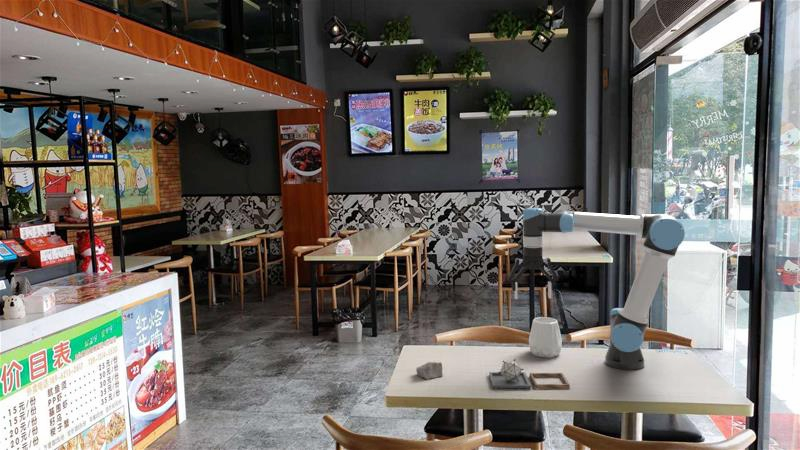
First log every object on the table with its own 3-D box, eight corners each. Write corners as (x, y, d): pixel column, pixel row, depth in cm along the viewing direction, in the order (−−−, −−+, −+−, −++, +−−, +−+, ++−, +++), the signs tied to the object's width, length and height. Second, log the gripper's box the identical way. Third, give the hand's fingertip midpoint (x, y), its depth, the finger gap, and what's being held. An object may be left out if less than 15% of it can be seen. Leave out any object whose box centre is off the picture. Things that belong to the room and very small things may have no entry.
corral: (562, 376, 236) (562, 372, 236) (569, 388, 223) (569, 384, 223) (529, 376, 236) (529, 372, 236) (535, 388, 224) (535, 384, 224)
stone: (438, 371, 244) (438, 357, 243) (444, 378, 236) (444, 364, 236) (414, 374, 242) (414, 360, 241) (420, 381, 234) (420, 366, 233)
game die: (514, 391, 229) (523, 376, 223) (493, 382, 231) (501, 367, 224) (519, 373, 236) (527, 358, 229) (499, 365, 237) (506, 350, 231)
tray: (524, 375, 237) (524, 372, 237) (531, 389, 223) (531, 385, 223) (489, 375, 238) (489, 372, 238) (492, 389, 224) (492, 385, 224)
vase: (529, 358, 258) (529, 323, 256) (527, 348, 271) (528, 315, 270) (563, 359, 255) (563, 324, 254) (560, 349, 269) (560, 316, 267)
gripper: (561, 244, 246) (561, 295, 248) (500, 245, 247) (500, 296, 249) (566, 247, 239) (566, 299, 241) (503, 248, 239) (503, 300, 242)
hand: (532, 298), depth 245 cm, fingers open, 13 cm apart
